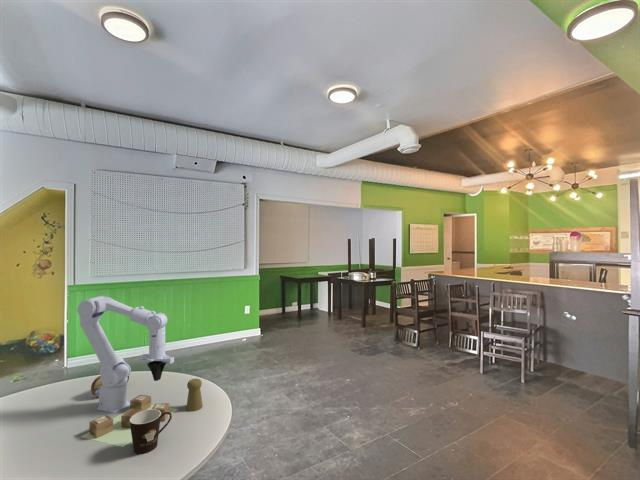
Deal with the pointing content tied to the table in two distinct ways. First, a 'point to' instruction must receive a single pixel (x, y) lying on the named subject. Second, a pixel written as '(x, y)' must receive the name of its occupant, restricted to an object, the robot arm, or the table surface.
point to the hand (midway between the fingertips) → (157, 379)
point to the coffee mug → (146, 430)
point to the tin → (97, 386)
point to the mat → (118, 432)
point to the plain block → (128, 417)
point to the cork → (194, 395)
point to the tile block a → (101, 426)
